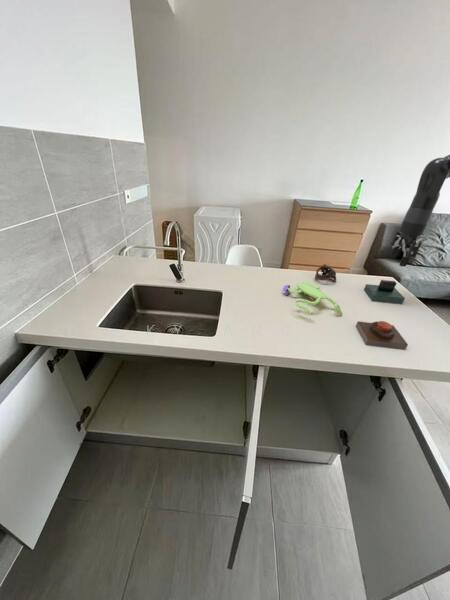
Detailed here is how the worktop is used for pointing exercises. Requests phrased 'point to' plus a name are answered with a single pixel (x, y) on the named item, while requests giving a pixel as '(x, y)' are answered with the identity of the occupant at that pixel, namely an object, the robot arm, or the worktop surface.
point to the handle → (387, 286)
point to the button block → (380, 336)
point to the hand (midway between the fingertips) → (397, 261)
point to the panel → (383, 295)
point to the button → (384, 326)
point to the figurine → (312, 292)
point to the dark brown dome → (325, 273)
